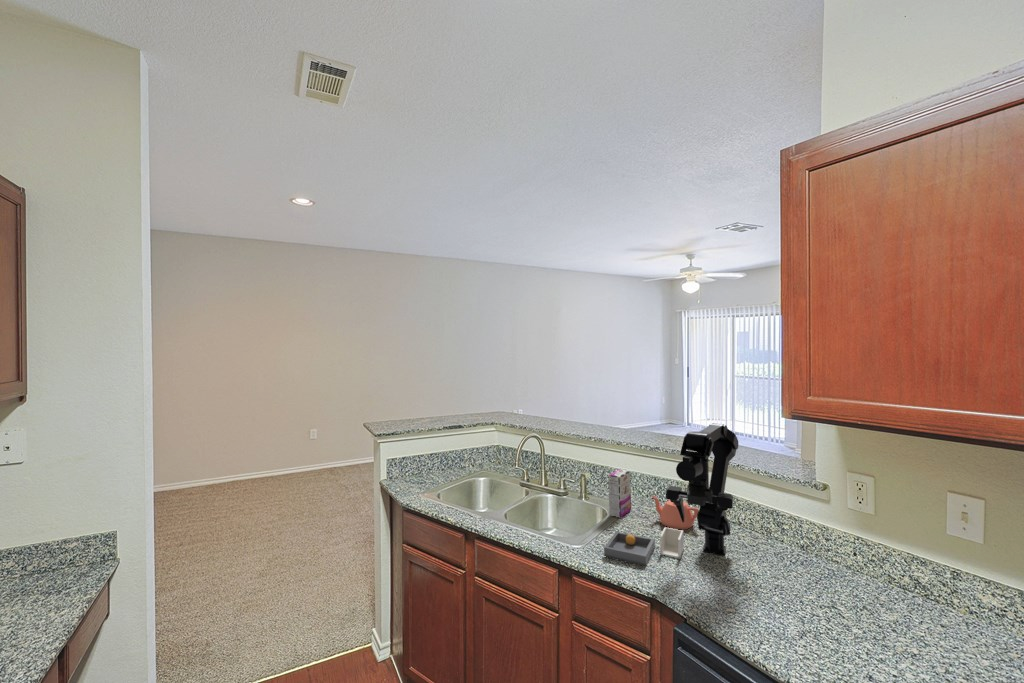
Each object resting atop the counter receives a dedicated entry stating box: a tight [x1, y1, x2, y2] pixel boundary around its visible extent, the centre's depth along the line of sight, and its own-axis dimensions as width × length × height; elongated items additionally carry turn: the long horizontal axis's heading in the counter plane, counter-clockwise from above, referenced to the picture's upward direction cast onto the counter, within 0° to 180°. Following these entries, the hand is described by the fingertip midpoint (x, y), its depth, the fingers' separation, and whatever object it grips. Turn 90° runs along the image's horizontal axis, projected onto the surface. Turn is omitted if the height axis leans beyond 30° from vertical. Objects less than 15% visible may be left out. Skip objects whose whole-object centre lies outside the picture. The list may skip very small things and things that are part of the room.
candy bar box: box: [608, 468, 632, 519], centre depth 179 cm, size 11×5×16 cm, turn 143°
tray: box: [603, 531, 656, 567], centre depth 144 cm, size 14×13×3 cm
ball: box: [626, 534, 635, 545], centre depth 148 cm, size 3×3×3 cm
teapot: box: [651, 494, 700, 530], centre depth 168 cm, size 12×18×10 cm
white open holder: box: [659, 526, 685, 560], centre depth 144 cm, size 8×6×6 cm
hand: (699, 524), depth 136 cm, fingers open, 9 cm apart
